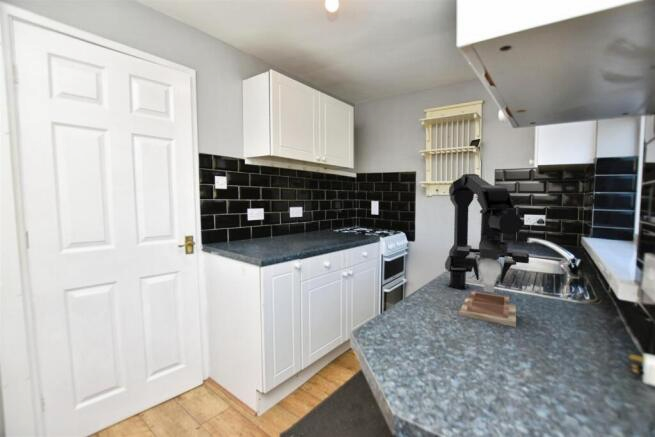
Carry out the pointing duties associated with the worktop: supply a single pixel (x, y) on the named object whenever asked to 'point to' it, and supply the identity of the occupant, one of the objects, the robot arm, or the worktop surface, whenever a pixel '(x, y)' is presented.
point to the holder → (489, 308)
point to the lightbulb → (489, 273)
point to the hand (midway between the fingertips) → (489, 281)
